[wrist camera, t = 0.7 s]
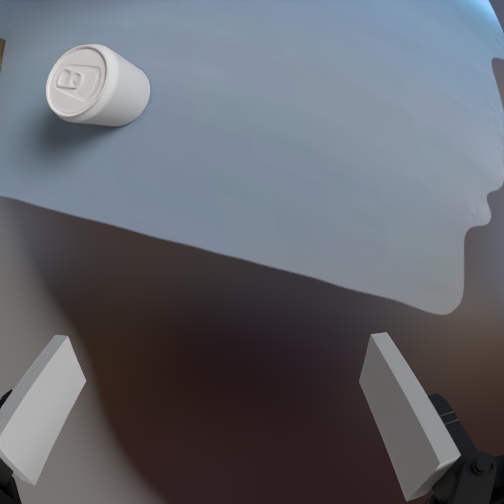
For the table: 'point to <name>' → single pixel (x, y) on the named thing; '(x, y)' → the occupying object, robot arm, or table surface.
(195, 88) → the table surface
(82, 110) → the beverage can
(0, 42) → the walnut block
